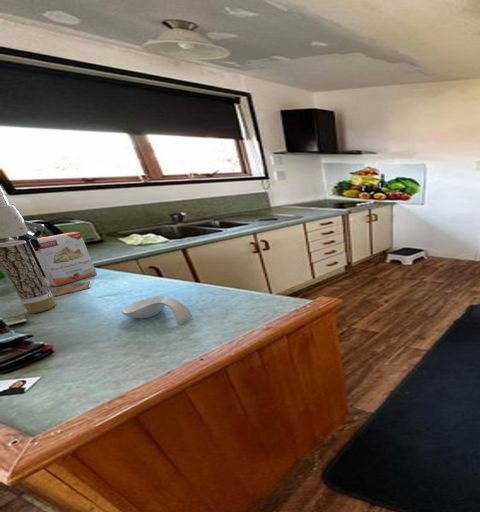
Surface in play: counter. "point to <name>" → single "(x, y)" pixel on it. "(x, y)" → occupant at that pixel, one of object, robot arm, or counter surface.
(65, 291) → the coaster
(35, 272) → the bark print canister
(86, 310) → the counter surface
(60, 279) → the cracker box
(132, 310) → the spoon rest
